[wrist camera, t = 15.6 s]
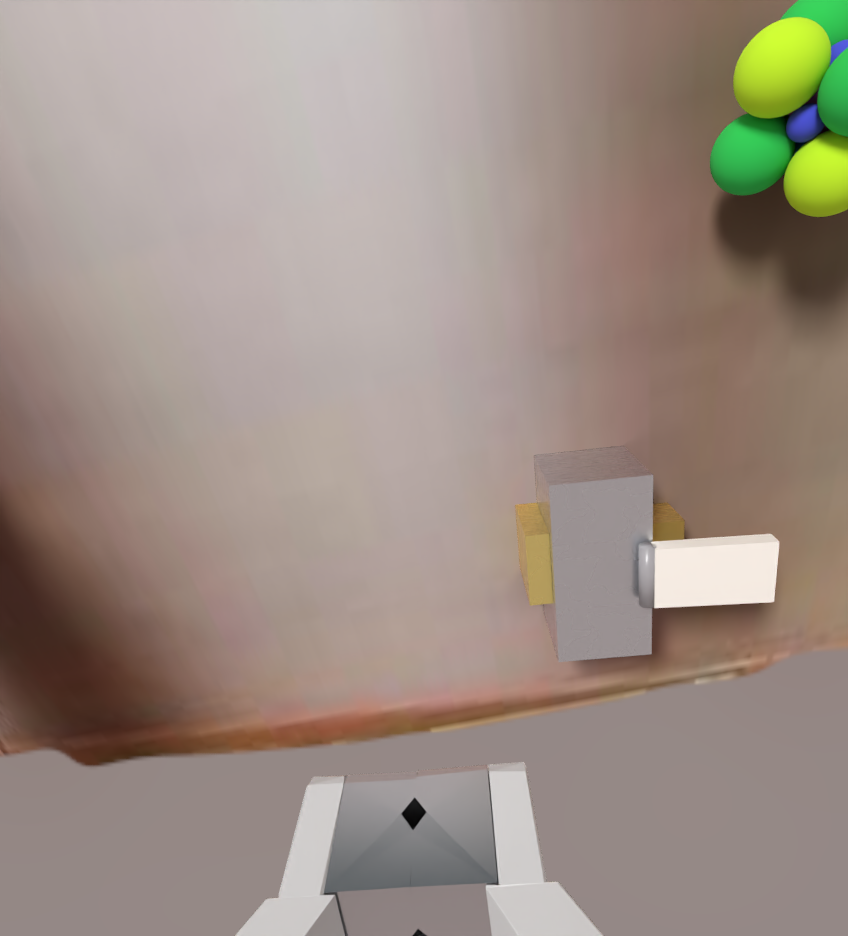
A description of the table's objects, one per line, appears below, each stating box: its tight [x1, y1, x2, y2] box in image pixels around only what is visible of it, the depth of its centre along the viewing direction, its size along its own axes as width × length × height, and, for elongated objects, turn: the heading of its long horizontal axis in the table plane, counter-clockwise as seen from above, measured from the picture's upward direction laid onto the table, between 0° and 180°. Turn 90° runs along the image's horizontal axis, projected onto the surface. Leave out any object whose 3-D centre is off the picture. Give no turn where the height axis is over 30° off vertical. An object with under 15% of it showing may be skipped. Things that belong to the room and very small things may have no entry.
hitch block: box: [534, 446, 653, 662], centre depth 38 cm, size 6×12×6 cm, turn 7°
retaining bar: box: [639, 534, 779, 608], centre depth 34 cm, size 1×4×8 cm
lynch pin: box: [515, 503, 684, 605], centre depth 38 cm, size 10×5×5 cm, turn 97°
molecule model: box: [710, 0, 848, 217], centre depth 27 cm, size 8×8×8 cm
